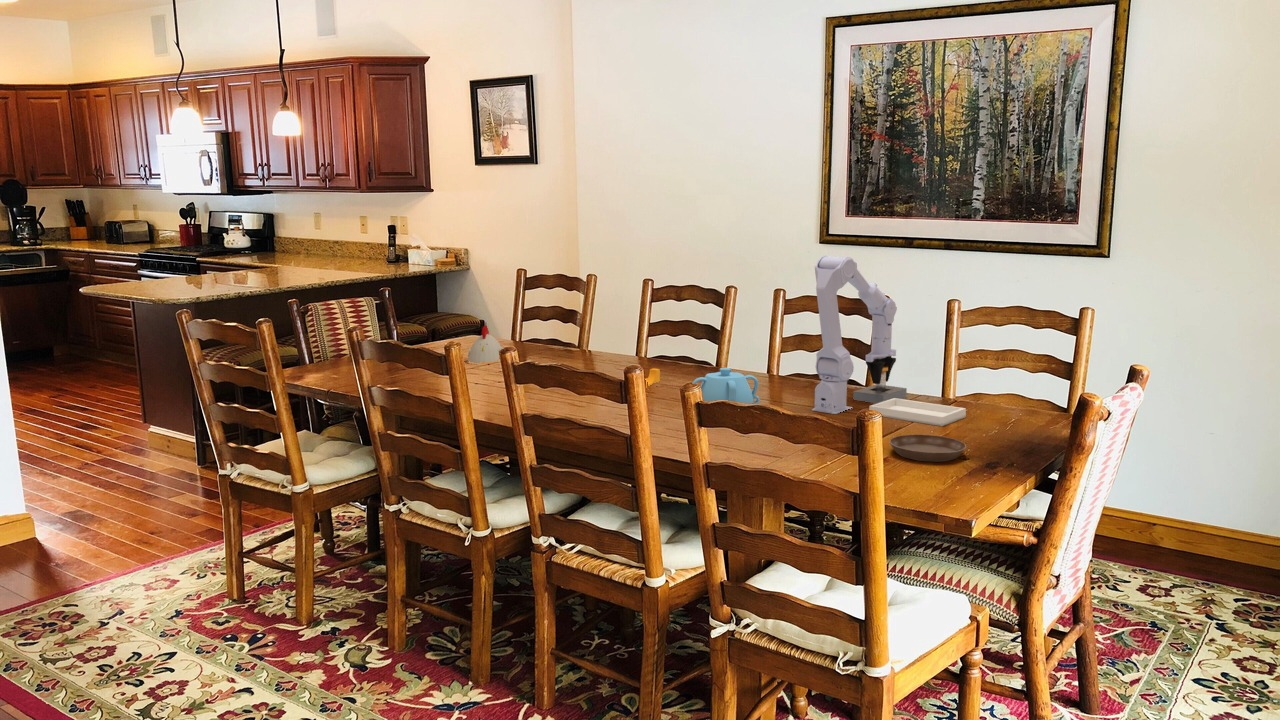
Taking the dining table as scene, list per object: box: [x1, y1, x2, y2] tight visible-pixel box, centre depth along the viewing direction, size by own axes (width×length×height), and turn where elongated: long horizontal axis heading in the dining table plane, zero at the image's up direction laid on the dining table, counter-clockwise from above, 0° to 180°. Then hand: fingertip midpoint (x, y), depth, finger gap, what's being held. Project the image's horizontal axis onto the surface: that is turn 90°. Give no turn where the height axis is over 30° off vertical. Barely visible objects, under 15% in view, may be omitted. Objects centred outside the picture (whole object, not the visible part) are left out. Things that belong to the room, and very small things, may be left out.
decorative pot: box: [691, 367, 761, 404], centre depth 282 cm, size 16×16×14 cm
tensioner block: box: [852, 384, 908, 404], centre depth 301 cm, size 14×10×3 cm
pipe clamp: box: [644, 368, 661, 388], centre depth 319 cm, size 12×4×6 cm, turn 145°
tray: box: [868, 398, 967, 427], centre depth 279 cm, size 14×22×2 cm, turn 47°
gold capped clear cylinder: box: [874, 366, 888, 392], centre depth 300 cm, size 4×4×9 cm
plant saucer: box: [889, 434, 967, 463], centre depth 239 cm, size 18×18×3 cm
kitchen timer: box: [467, 325, 504, 363], centre depth 367 cm, size 14×14×15 cm
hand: (880, 382), depth 300 cm, fingers closed on gold capped clear cylinder, 4 cm apart
